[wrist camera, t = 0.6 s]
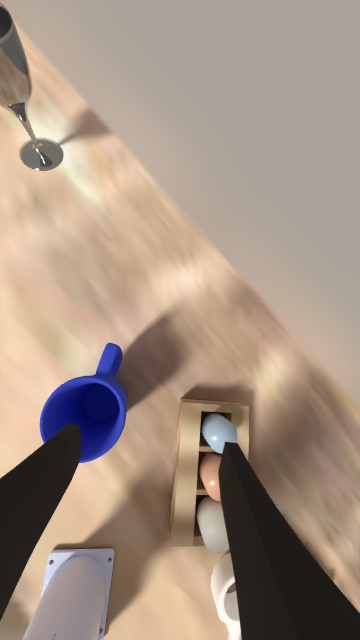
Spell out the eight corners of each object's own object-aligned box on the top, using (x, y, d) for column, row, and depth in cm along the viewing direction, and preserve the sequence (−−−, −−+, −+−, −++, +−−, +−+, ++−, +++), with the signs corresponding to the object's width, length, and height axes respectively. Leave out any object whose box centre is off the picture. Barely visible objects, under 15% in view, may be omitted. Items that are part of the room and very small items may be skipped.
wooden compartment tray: (237, 526, 29) (247, 544, 26) (169, 527, 28) (171, 546, 25) (240, 402, 33) (249, 406, 30) (180, 398, 32) (183, 402, 29)
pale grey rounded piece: (224, 530, 27) (234, 552, 24) (195, 531, 26) (201, 553, 23) (225, 495, 28) (235, 512, 25) (197, 495, 27) (203, 512, 24)
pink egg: (226, 485, 28) (235, 501, 25) (198, 485, 27) (204, 501, 24) (227, 453, 29) (236, 464, 26) (200, 452, 28) (206, 463, 25)
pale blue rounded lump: (227, 444, 29) (237, 454, 26) (200, 443, 28) (206, 453, 25) (228, 414, 30) (237, 420, 27) (202, 412, 29) (208, 418, 26)
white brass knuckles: (339, 597, 30) (280, 707, 26) (255, 504, 31) (187, 599, 27) (362, 626, 27) (299, 756, 23) (268, 521, 28) (193, 631, 24)
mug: (147, 355, 32) (147, 353, 23) (121, 436, 29) (108, 473, 20) (97, 340, 32) (75, 331, 22) (65, 421, 29) (23, 452, 19)
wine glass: (48, 180, 36) (-21, 55, 21) (6, 157, 35) (-93, 14, 21) (74, 150, 38) (27, 18, 23) (35, 128, 37) (-37, -20, 23)
